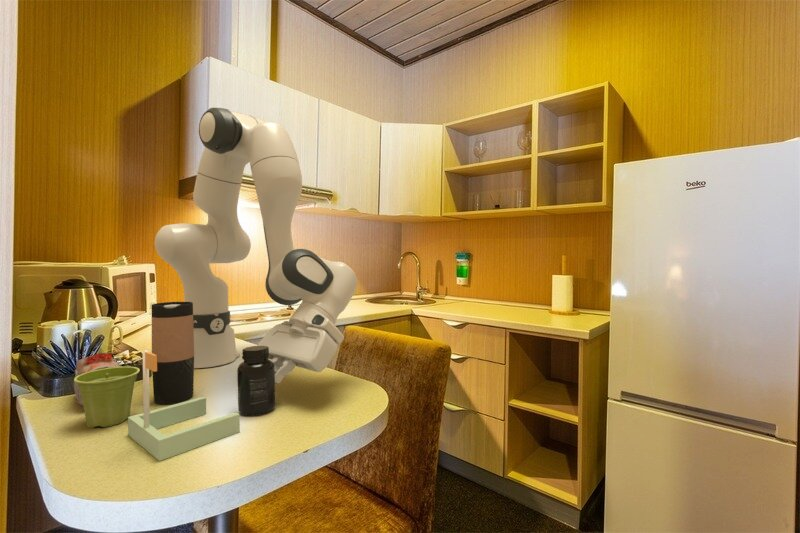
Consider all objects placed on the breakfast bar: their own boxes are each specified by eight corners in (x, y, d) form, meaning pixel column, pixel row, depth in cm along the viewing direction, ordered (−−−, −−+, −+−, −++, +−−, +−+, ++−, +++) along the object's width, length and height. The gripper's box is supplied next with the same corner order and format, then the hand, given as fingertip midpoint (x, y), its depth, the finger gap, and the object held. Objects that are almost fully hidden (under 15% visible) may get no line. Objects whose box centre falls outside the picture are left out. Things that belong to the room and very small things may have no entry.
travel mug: (177, 390, 86) (176, 301, 86) (202, 395, 83) (201, 302, 83) (143, 402, 79) (142, 304, 79) (170, 407, 76) (168, 306, 76)
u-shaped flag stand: (128, 435, 64) (126, 345, 64) (203, 412, 74) (202, 333, 74) (159, 461, 56) (157, 357, 56) (239, 431, 65) (238, 343, 65)
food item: (128, 404, 79) (128, 355, 78) (78, 415, 73) (77, 363, 73) (114, 388, 88) (113, 345, 88) (68, 397, 82) (67, 351, 82)
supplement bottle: (281, 403, 78) (280, 344, 78) (265, 417, 71) (265, 352, 71) (248, 402, 79) (248, 343, 78) (230, 416, 72) (229, 351, 72)
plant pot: (149, 418, 71) (148, 371, 71) (86, 437, 63) (85, 385, 63) (127, 407, 76) (126, 363, 76) (66, 424, 69) (65, 375, 68)
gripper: (273, 312, 90) (234, 363, 82) (333, 320, 77) (292, 381, 69) (290, 328, 93) (253, 379, 86) (350, 339, 80) (313, 399, 73)
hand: (271, 380), depth 77 cm, fingers closed, pressing on supplement bottle
